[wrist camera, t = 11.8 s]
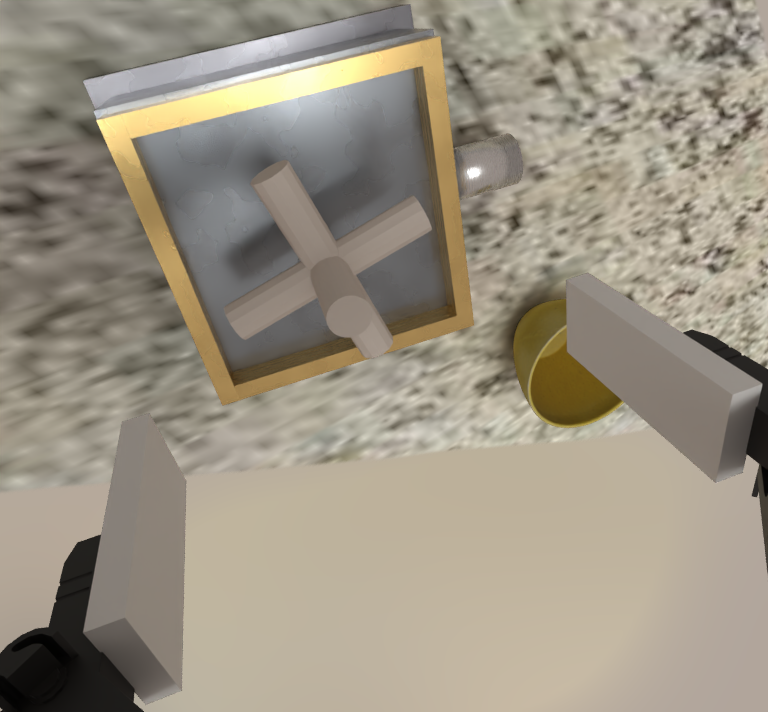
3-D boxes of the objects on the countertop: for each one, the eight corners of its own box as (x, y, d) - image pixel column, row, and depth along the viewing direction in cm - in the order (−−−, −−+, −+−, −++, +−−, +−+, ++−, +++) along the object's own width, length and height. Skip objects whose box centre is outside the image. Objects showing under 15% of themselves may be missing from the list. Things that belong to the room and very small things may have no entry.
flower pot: (500, 272, 43) (547, 311, 37) (610, 272, 46) (670, 308, 40) (476, 382, 48) (514, 433, 42) (577, 376, 51) (627, 423, 45)
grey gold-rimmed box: (87, 78, 30) (50, 95, 23) (465, -11, 33) (543, -21, 26) (206, 353, 40) (208, 429, 33) (491, 266, 43) (553, 317, 35)
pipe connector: (348, 94, 27) (408, 130, 19) (429, 260, 33) (503, 343, 24) (172, 201, 27) (154, 282, 19) (282, 346, 33) (305, 458, 25)
